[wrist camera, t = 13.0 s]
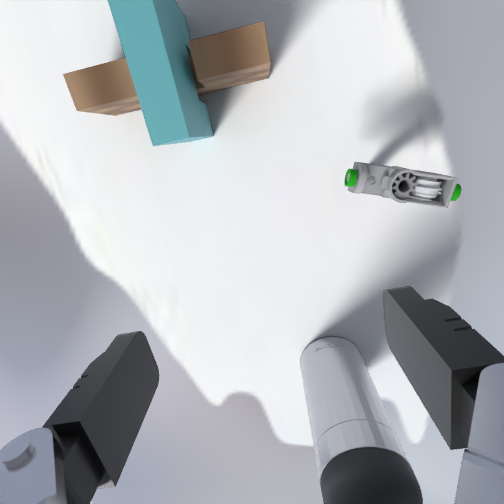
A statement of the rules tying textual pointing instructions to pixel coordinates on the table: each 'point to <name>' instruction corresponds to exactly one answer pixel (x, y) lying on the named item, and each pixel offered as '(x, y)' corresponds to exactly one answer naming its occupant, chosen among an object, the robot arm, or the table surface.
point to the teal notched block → (161, 69)
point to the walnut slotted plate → (203, 68)
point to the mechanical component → (402, 184)
